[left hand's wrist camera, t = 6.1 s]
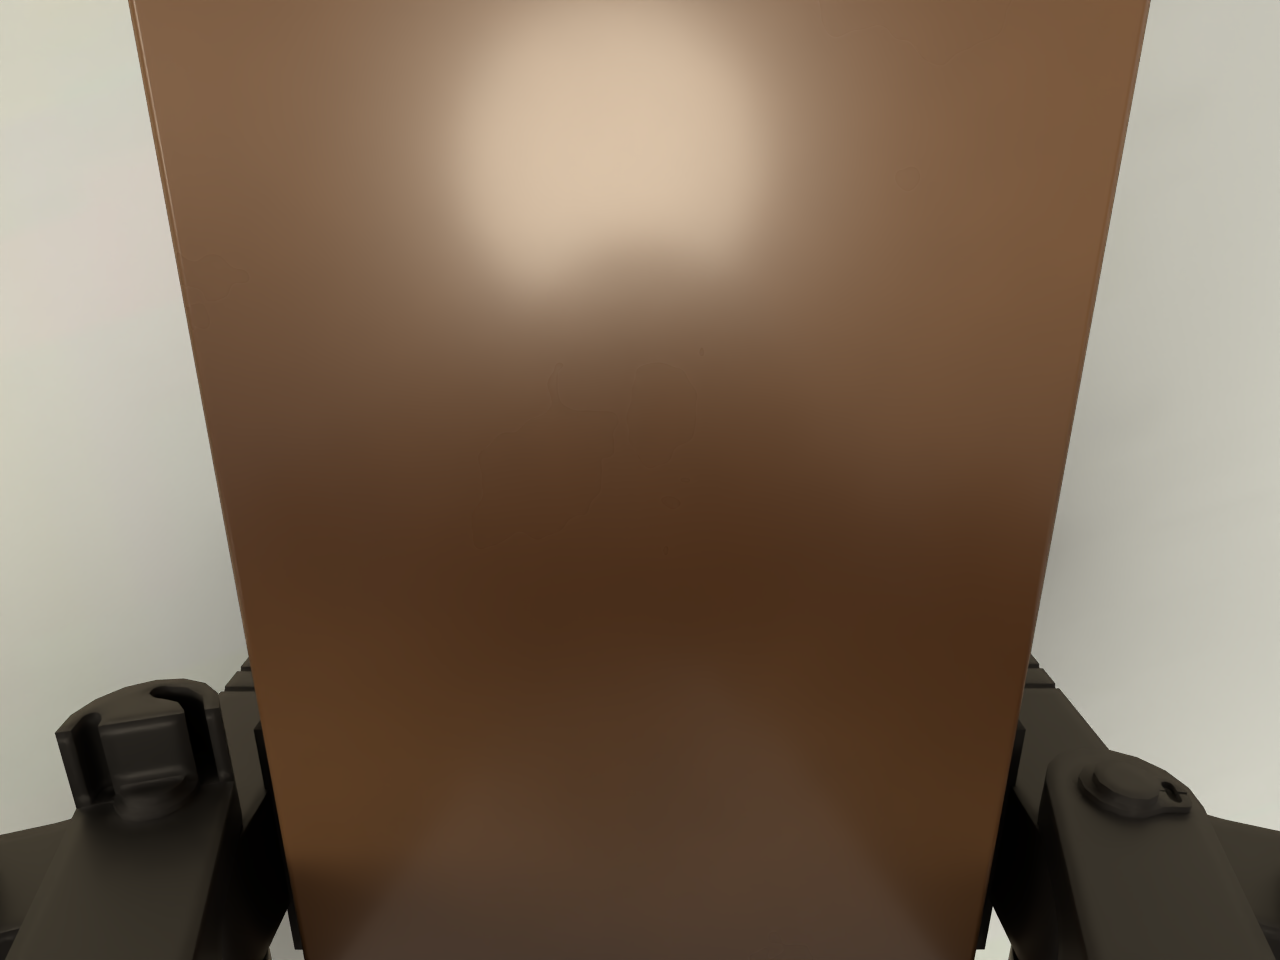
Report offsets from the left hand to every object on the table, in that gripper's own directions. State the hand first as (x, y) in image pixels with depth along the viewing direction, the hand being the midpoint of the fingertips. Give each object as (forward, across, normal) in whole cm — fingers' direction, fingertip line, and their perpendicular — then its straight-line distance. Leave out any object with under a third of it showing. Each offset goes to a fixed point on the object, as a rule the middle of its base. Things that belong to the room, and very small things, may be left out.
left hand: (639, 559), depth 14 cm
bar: (+1, 0, -31) cm, 31 cm away
